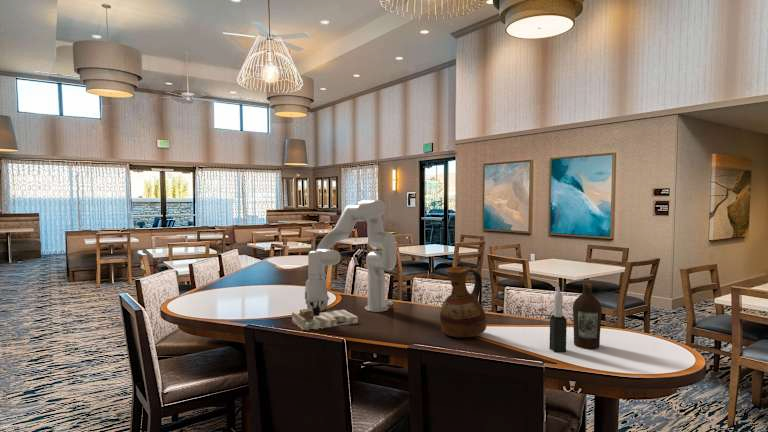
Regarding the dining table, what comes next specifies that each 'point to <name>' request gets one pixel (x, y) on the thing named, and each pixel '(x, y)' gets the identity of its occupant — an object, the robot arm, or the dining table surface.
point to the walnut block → (306, 314)
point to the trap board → (325, 320)
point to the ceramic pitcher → (462, 306)
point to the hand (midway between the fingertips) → (316, 315)
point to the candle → (558, 325)
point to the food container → (322, 308)
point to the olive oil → (587, 319)
